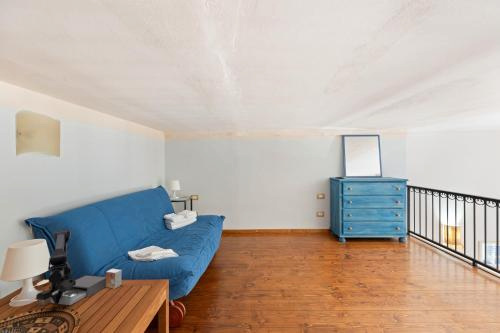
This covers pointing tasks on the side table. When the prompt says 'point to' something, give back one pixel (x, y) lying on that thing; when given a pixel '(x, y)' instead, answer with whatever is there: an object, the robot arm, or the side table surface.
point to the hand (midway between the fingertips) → (56, 304)
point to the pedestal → (43, 301)
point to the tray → (68, 300)
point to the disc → (72, 294)
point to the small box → (113, 278)
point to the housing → (90, 284)
